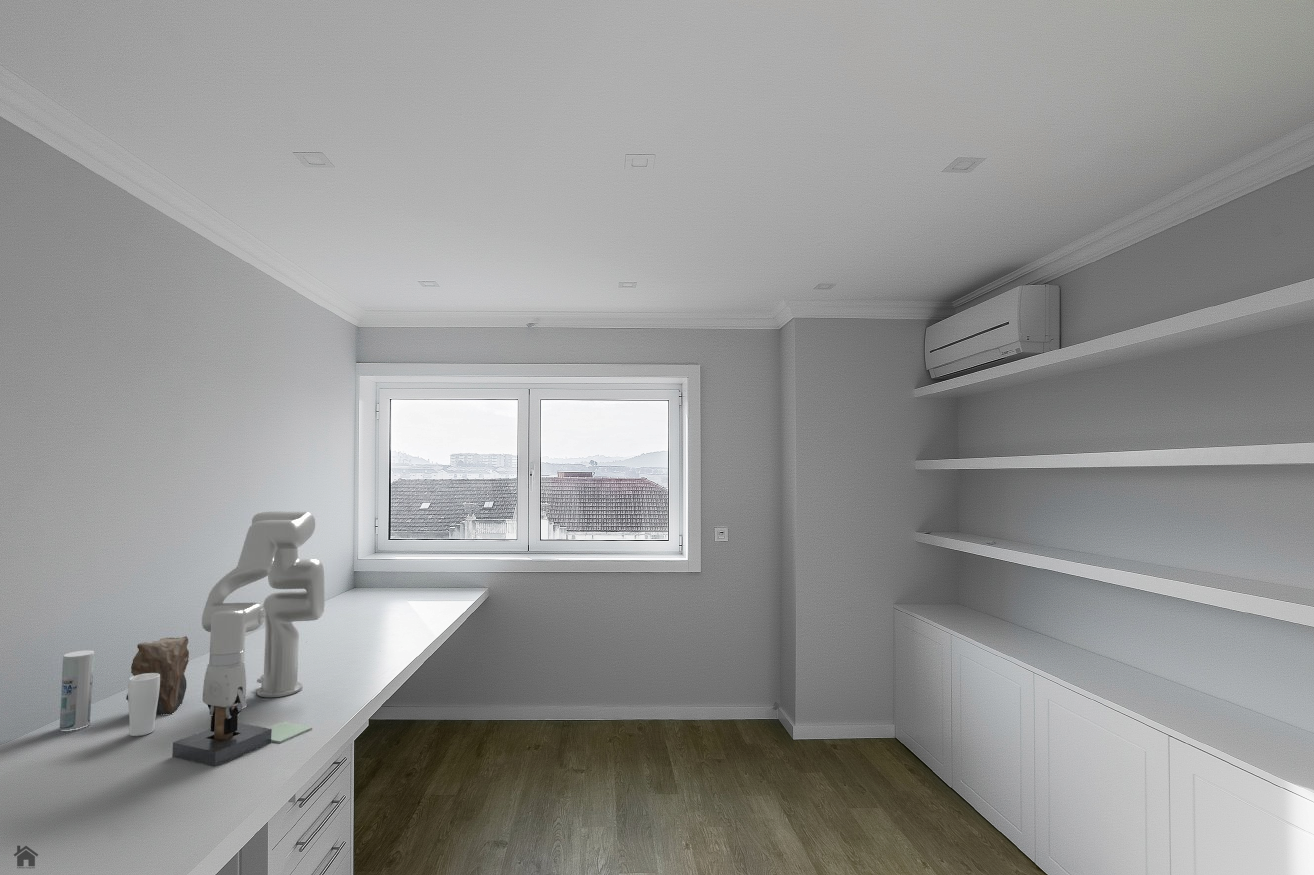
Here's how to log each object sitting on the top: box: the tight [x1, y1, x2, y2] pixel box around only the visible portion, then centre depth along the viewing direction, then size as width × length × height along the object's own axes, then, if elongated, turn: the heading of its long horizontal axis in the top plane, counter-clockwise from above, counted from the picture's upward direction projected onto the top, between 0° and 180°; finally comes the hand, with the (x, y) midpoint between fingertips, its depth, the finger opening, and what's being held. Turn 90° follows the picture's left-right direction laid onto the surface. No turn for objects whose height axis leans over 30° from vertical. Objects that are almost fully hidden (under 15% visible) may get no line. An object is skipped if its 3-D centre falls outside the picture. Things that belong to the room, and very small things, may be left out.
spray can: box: [59, 650, 95, 731], centre depth 179 cm, size 6×6×20 cm
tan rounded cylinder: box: [214, 706, 234, 741], centre depth 166 cm, size 4×4×12 cm
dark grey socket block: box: [171, 722, 272, 768], centre depth 166 cm, size 15×15×4 cm
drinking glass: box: [127, 673, 160, 737], centre depth 176 cm, size 7×7×15 cm
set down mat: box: [267, 721, 313, 744], centre depth 176 cm, size 11×10×1 cm
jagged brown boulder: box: [125, 635, 190, 716], centre depth 194 cm, size 13×13×20 cm
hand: (223, 730), depth 166 cm, fingers closed on tan rounded cylinder, 4 cm apart
